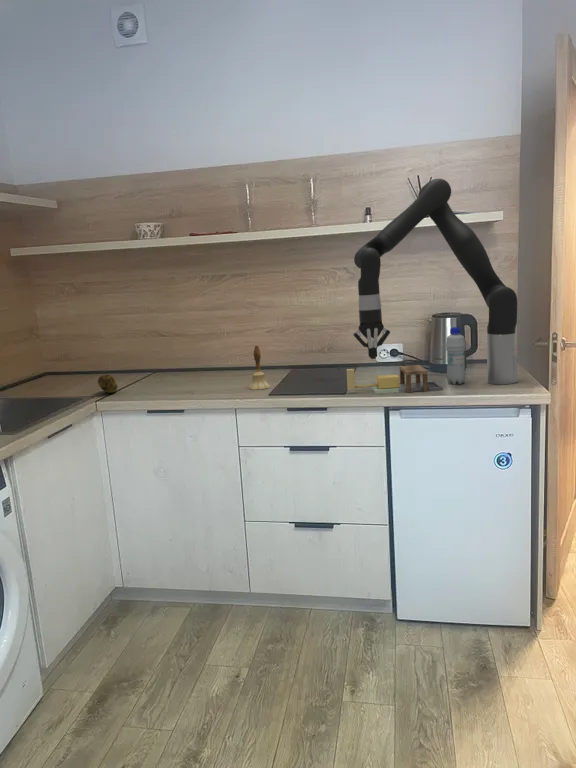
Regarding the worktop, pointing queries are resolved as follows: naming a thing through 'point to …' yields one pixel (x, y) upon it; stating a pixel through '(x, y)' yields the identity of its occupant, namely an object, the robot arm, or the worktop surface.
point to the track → (398, 388)
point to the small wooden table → (411, 371)
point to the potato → (107, 383)
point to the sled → (382, 382)
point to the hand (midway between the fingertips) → (373, 358)
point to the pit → (434, 386)
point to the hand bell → (258, 374)
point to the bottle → (455, 357)
